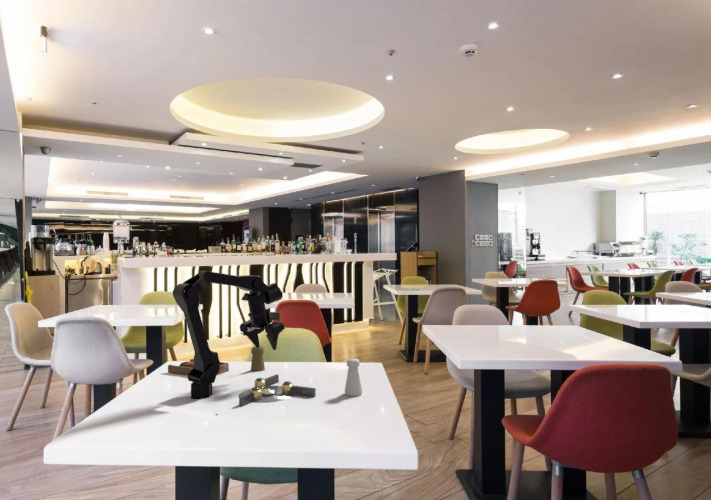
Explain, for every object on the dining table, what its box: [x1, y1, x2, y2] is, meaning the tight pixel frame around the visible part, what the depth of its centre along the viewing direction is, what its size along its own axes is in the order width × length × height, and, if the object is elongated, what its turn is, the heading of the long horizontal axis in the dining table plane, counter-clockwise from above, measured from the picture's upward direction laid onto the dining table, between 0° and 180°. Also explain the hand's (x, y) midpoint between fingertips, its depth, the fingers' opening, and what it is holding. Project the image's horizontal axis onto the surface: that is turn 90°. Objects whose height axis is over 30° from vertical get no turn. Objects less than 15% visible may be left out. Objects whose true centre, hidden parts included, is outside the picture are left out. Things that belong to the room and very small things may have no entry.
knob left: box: [254, 374, 280, 390], centre depth 162 cm, size 12×4×4 cm, turn 155°
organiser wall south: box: [216, 363, 230, 376], centre depth 186 cm, size 11×1×3 cm, turn 155°
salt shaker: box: [344, 357, 363, 397], centre depth 152 cm, size 6×6×13 cm
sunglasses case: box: [178, 360, 194, 368], centre depth 191 cm, size 18×7×7 cm, turn 65°
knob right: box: [281, 380, 317, 398], centre depth 152 cm, size 12×4×4 cm, turn 65°
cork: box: [250, 345, 266, 372], centre depth 186 cm, size 6×6×11 cm
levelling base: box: [238, 385, 296, 407], centre depth 151 cm, size 24×19×5 cm
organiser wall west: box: [167, 364, 193, 376], centre depth 185 cm, size 1×20×3 cm, turn 65°
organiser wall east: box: [189, 358, 229, 365], centre depth 196 cm, size 1×20×3 cm, turn 65°
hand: (266, 348), depth 170 cm, fingers open, 9 cm apart
